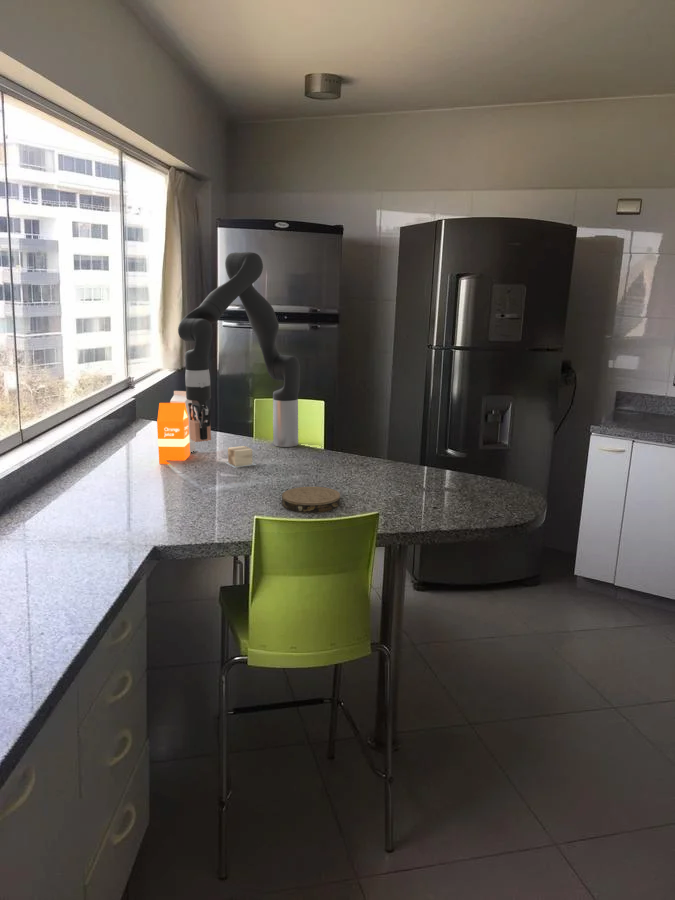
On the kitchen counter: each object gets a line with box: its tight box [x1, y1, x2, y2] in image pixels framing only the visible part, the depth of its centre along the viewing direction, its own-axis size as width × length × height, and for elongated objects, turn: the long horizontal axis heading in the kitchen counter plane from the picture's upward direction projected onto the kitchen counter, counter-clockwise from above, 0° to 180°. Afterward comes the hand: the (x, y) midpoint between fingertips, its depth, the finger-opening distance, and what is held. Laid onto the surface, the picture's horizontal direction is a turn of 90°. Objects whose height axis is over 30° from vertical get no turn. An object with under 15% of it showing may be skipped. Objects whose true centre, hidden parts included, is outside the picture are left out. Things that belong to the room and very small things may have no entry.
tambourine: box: [281, 486, 341, 514], centre depth 196 cm, size 16×16×3 cm
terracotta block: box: [189, 420, 212, 443], centre depth 224 cm, size 5×5×6 cm
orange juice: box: [156, 402, 191, 465], centre depth 240 cm, size 8×9×20 cm
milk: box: [169, 390, 196, 454], centre depth 252 cm, size 6×6×22 cm
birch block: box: [227, 445, 254, 468], centre depth 234 cm, size 6×6×5 cm
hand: (200, 437), depth 225 cm, fingers closed on terracotta block, 5 cm apart
